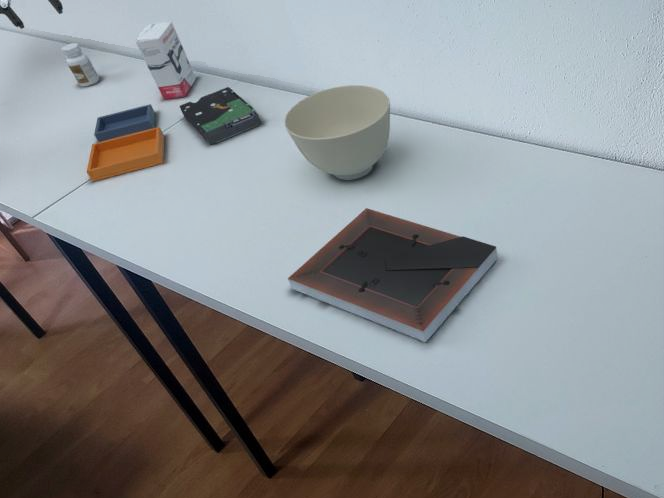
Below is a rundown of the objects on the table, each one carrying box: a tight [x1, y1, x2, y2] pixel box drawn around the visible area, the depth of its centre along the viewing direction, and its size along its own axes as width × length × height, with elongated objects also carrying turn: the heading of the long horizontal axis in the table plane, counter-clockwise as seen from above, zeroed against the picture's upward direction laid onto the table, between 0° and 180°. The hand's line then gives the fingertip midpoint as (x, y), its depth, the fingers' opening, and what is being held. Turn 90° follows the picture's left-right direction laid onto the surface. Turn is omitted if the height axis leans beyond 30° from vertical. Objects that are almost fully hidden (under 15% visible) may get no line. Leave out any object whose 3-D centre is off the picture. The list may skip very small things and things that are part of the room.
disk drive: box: [179, 86, 262, 145], centre depth 119 cm, size 10×3×15 cm
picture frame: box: [287, 207, 499, 343], centre depth 82 cm, size 16×2×22 cm
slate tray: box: [93, 103, 156, 143], centre depth 122 cm, size 10×7×2 cm
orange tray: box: [86, 126, 165, 182], centre depth 114 cm, size 12×10×2 cm
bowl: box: [283, 84, 391, 181], centre depth 99 cm, size 16×16×10 cm
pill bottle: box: [61, 42, 100, 87], centre depth 138 cm, size 4×4×8 cm
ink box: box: [135, 21, 197, 100], centre depth 128 cm, size 8×5×12 cm, turn 1°
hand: (41, 18), depth 136 cm, fingers open, 8 cm apart
